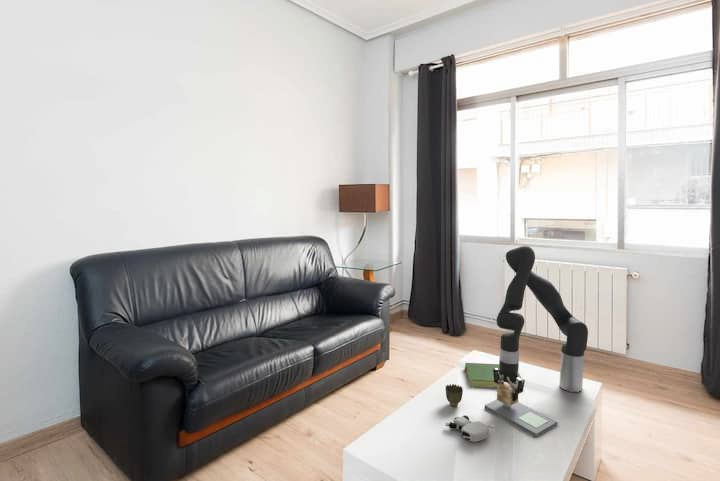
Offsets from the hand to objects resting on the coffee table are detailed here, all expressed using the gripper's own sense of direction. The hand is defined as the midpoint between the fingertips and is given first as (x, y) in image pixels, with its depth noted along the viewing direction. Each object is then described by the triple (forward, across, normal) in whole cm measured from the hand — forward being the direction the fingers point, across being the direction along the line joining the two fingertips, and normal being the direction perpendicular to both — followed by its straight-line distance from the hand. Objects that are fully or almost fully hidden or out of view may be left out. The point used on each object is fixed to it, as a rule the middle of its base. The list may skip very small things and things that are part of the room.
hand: (507, 397), depth 165 cm
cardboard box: (+2, 0, 0) cm, 2 cm away
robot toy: (+6, +2, -26) cm, 27 cm away
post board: (+6, +6, 0) cm, 8 cm away
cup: (+6, -15, -16) cm, 23 cm away
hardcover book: (+6, -22, +18) cm, 29 cm away
